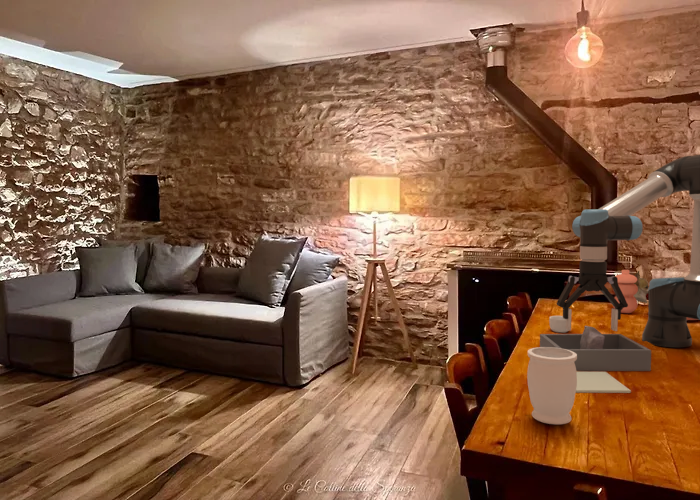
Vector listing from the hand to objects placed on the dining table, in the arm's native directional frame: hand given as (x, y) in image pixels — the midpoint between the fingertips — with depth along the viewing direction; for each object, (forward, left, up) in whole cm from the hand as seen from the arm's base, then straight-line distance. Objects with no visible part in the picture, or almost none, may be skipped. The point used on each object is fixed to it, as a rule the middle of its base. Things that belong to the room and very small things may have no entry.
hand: (591, 330), depth 165 cm
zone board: (+9, +21, -10) cm, 25 cm away
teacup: (-4, -41, -10) cm, 42 cm away
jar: (+25, +46, -10) cm, 53 cm away
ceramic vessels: (-55, -74, -10) cm, 93 cm away
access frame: (0, 0, -10) cm, 10 cm away
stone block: (0, 0, -10) cm, 10 cm away
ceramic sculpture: (-61, -103, -10) cm, 120 cm away
